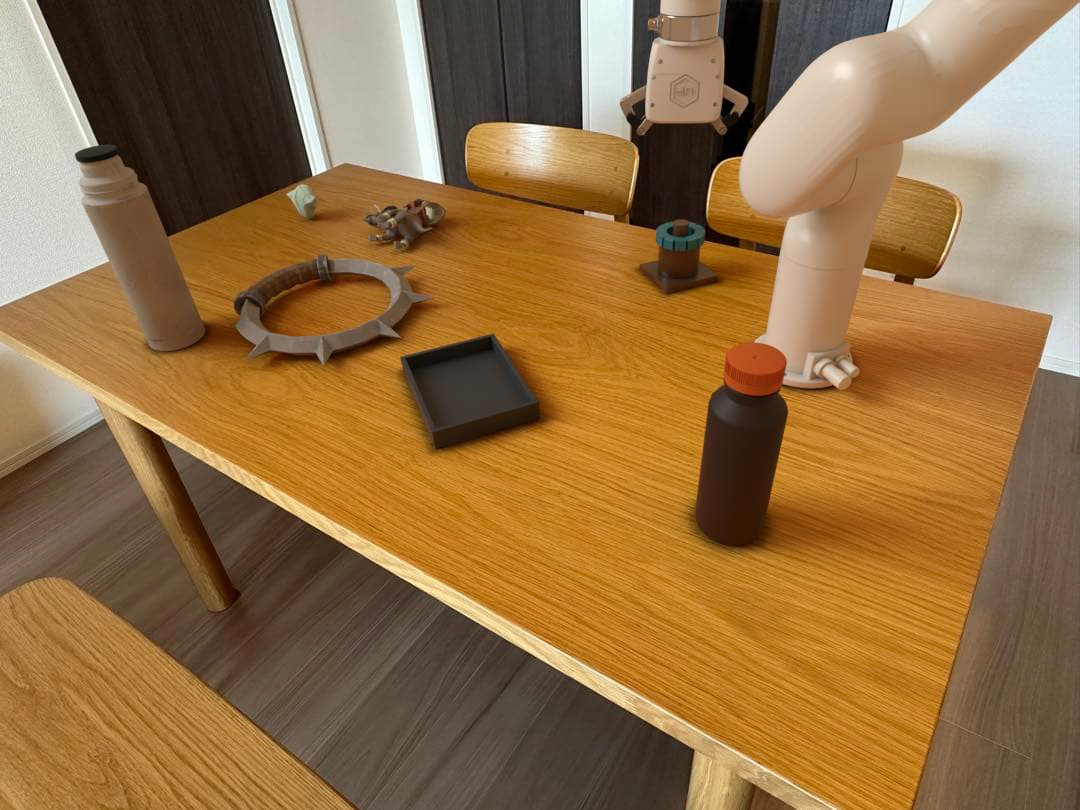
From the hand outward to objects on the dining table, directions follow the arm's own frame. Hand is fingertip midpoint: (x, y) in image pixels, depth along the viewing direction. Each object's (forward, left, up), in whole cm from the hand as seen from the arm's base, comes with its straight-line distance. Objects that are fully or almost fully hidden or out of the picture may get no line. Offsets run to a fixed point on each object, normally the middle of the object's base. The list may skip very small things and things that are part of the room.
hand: (678, 160), depth 100 cm
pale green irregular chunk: (+54, +51, -19) cm, 76 cm away
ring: (0, -1, -12) cm, 12 cm away
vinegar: (-48, +21, -19) cm, 56 cm away
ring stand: (0, -1, -19) cm, 19 cm away
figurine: (+38, +34, -19) cm, 54 cm away
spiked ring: (+12, +52, -19) cm, 56 cm away
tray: (-16, +39, -19) cm, 46 cm away
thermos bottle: (+17, +75, -19) cm, 79 cm away
